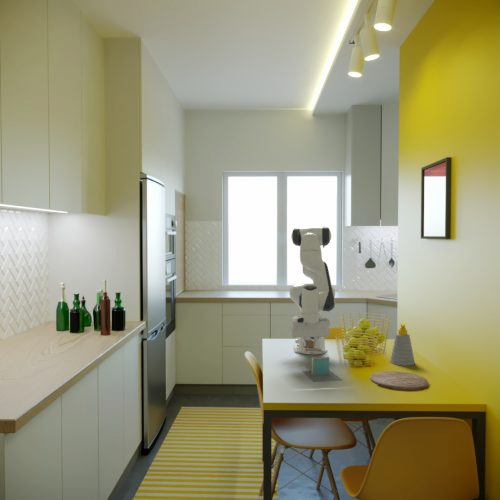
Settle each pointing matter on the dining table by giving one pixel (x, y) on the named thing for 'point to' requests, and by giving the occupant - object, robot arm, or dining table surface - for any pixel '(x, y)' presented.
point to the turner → (312, 348)
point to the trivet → (399, 380)
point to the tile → (320, 365)
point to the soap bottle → (402, 349)
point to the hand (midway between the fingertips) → (309, 346)
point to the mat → (322, 377)
